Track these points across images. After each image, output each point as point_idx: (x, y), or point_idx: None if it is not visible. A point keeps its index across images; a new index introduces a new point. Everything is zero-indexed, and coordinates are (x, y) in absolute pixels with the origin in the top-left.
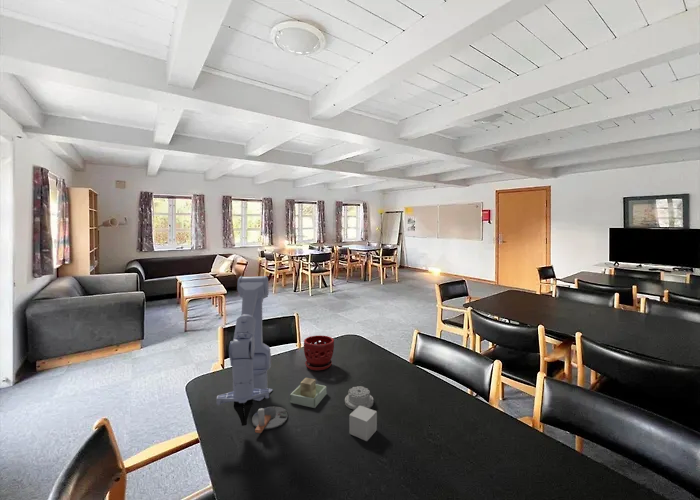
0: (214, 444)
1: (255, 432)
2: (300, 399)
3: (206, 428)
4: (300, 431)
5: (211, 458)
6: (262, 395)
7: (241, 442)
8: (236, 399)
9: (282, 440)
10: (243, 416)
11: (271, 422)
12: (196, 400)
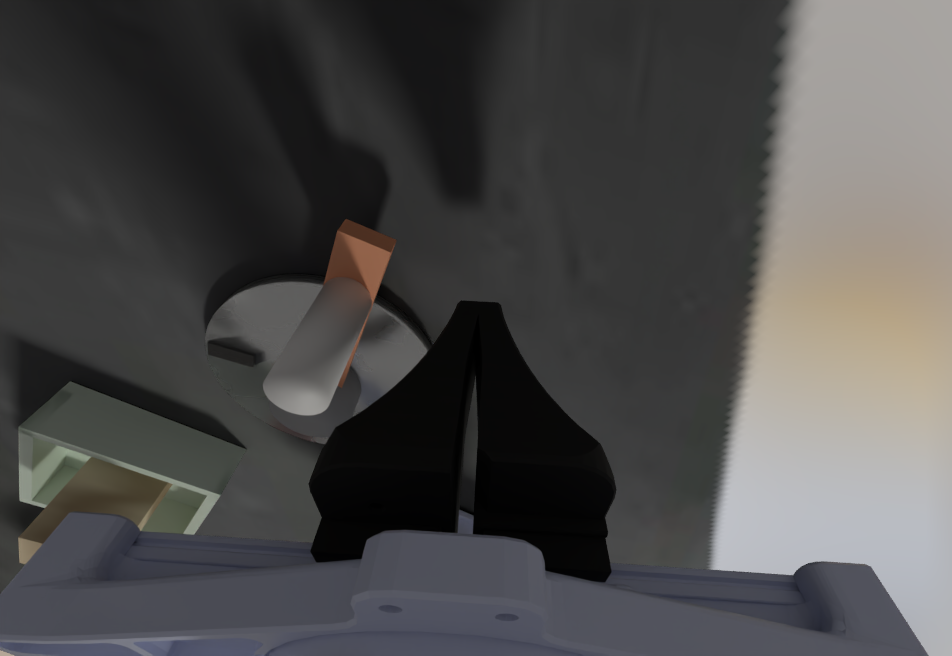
0: (706, 228)
1: (393, 239)
2: (155, 451)
3: (712, 389)
4: (47, 182)
5: (783, 37)
6: (107, 586)
7: (505, 189)
8: (594, 638)
9: (157, 106)
10: (480, 364)
11: (299, 323)
12: (702, 551)
